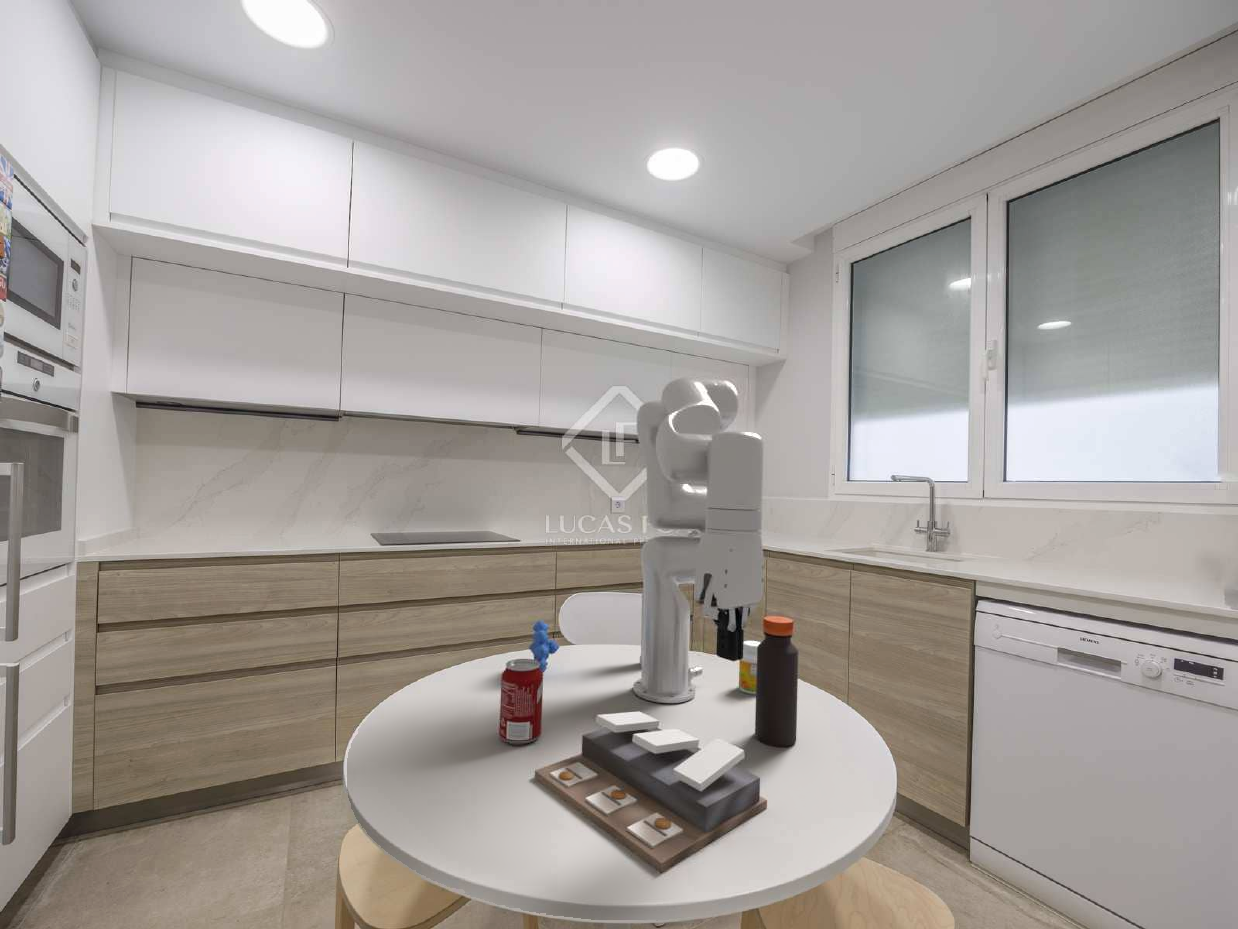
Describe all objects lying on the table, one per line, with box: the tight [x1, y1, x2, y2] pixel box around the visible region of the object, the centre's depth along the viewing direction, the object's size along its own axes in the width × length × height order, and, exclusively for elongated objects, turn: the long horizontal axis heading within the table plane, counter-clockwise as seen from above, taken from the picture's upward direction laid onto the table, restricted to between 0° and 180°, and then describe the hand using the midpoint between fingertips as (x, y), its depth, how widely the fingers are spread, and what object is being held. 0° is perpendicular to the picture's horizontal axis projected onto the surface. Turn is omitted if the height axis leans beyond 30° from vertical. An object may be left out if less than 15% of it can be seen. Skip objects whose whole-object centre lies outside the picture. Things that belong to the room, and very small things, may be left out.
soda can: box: [498, 658, 544, 746], centre depth 93 cm, size 7×7×12 cm
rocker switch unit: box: [534, 727, 768, 873], centre depth 77 cm, size 20×25×4 cm
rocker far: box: [595, 711, 660, 733], centre depth 86 cm, size 9×4×1 cm, turn 131°
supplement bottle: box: [738, 640, 761, 695], centre depth 118 cm, size 5×5×10 cm
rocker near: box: [673, 737, 746, 791], centre depth 74 cm, size 9×4×1 cm, turn 132°
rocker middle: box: [632, 728, 700, 754], centre depth 80 cm, size 9×4×1 cm, turn 131°
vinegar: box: [754, 615, 799, 748], centre depth 96 cm, size 7×7×20 cm
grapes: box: [528, 620, 560, 674], centre depth 123 cm, size 12×7×12 cm, turn 11°
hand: (729, 657), depth 77 cm, fingers closed
